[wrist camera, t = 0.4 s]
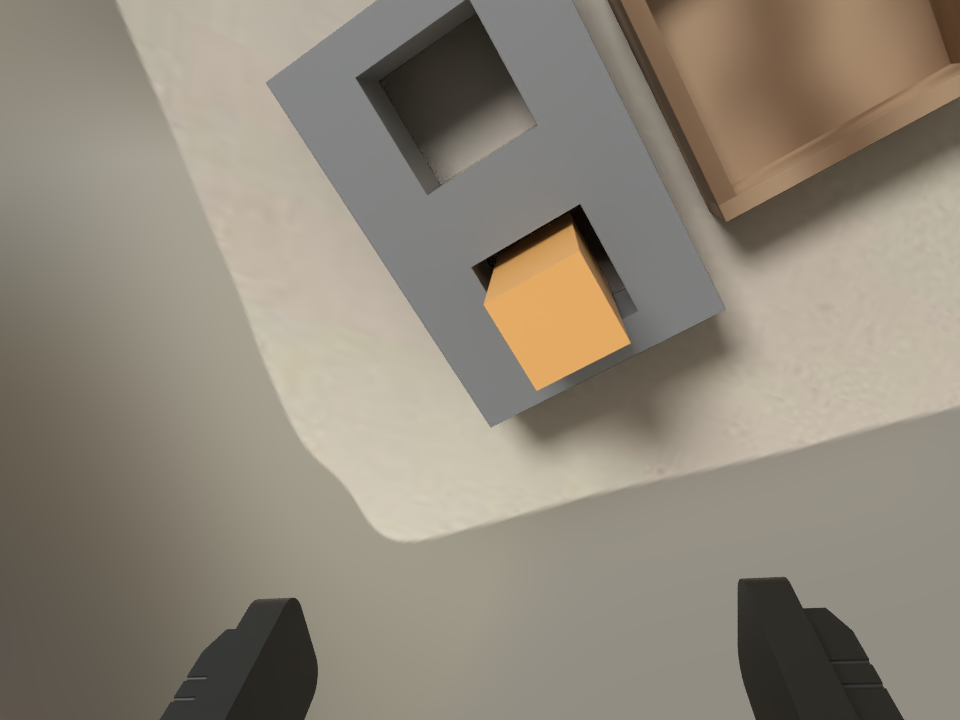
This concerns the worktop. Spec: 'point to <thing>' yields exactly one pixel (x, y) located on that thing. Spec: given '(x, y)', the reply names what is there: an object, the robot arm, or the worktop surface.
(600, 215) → the cinder block
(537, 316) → the plug
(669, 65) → the tray
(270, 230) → the worktop surface
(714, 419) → the worktop surface
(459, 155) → the worktop surface
